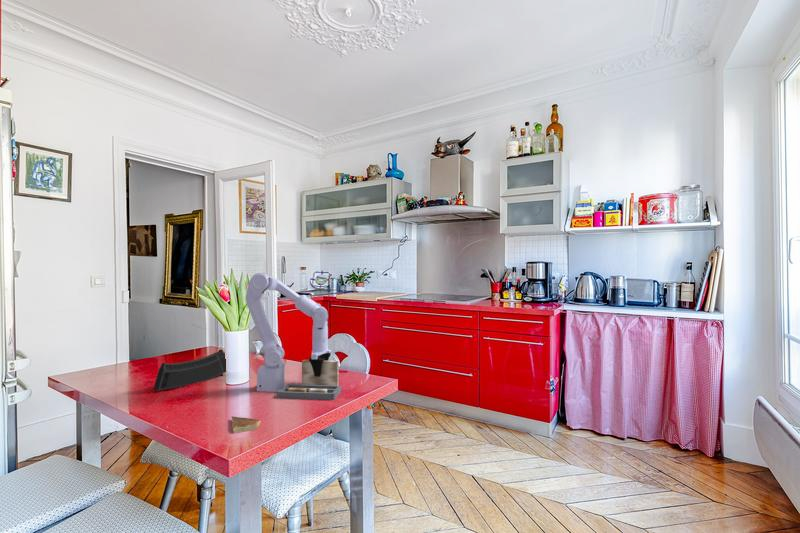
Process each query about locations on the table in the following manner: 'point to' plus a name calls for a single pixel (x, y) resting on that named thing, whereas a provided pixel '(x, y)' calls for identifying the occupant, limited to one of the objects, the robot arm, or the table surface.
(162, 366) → the magazine
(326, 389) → the offcut
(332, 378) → the sheet
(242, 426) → the shard
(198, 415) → the table surface
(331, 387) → the rack
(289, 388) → the offcut
